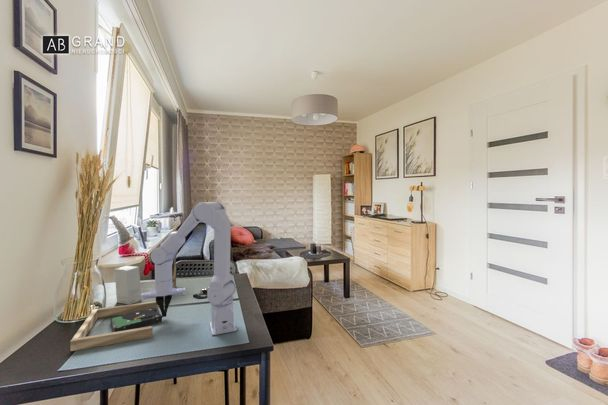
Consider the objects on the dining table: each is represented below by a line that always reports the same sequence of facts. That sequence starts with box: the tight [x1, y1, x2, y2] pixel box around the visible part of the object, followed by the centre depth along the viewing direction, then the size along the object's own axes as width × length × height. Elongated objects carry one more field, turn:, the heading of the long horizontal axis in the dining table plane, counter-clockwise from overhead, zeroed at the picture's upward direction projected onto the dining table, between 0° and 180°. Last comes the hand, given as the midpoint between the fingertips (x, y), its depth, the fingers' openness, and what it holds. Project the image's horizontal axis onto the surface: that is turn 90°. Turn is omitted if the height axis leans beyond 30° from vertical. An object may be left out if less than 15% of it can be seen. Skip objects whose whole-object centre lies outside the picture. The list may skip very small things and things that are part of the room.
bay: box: [69, 300, 159, 352], centre depth 101 cm, size 25×22×3 cm
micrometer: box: [192, 286, 210, 300], centre depth 134 cm, size 15×7×2 cm, turn 154°
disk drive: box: [109, 308, 163, 332], centre depth 104 cm, size 10×3×15 cm
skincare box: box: [114, 265, 142, 305], centre depth 123 cm, size 8×6×15 cm
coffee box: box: [172, 255, 177, 288], centre depth 138 cm, size 9×6×16 cm
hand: (164, 315), depth 107 cm, fingers closed
